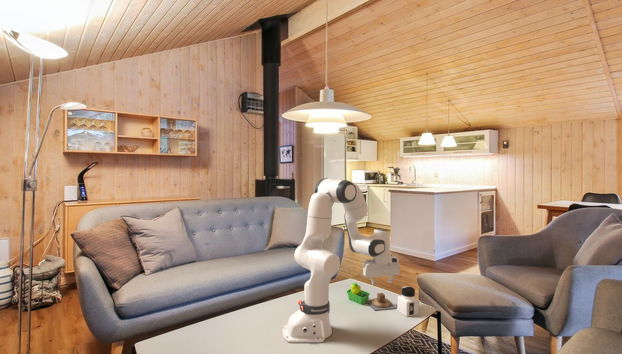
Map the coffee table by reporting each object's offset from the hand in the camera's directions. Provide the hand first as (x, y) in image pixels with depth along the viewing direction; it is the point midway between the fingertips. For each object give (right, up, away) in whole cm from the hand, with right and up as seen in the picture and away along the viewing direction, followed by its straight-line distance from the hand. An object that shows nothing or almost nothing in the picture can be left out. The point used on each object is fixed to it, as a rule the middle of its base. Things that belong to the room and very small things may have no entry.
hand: (381, 283), depth 177 cm
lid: (0, -11, 0) cm, 11 cm away
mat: (0, -12, 0) cm, 12 cm away
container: (+12, -12, -8) cm, 19 cm away
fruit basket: (-12, -12, +5) cm, 18 cm away
